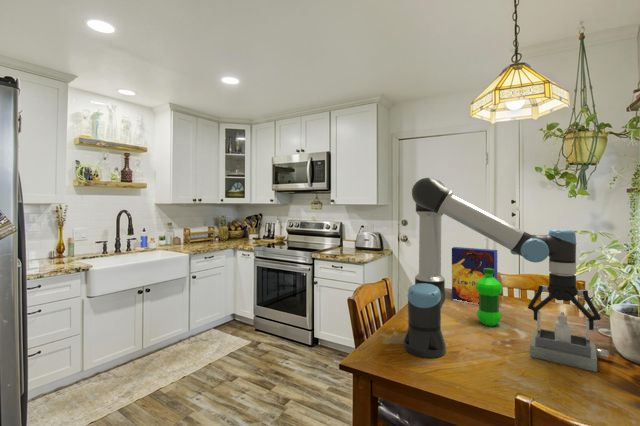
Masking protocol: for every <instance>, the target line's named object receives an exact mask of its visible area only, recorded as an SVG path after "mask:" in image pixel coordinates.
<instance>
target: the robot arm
mask: <svg viewBox="0 0 640 426" xmlns="http://www.w3.org/2000/svg"><path fill="white" fill-rule="evenodd" d="M411 197H412V200H413V201H414V202H415V213H416V214H417V215H418V216H419V222H418V223H419V228H418V229H419V230H418V233H419V235H418V239H419V240H418V245H419V246H418V247H419V248H418V273H417V274H416V275H415V276H414V284H412V285H410V287H408V291H407V314H408V315H407V317H408V318H407V320H408V321H407V322H408V324H407V325H408V326H407V327H408V328H407V330H406V333H405V336H404V338H403V348H404V350H405V351H406V352H408V353H409V354H411V355H414V356H416V357H420V358H427V359H428V358H432V359H433V358H439V357H443V356H444V355H445V354H446V353H447V345H446V341H445V339H444V335H443V332H442V329H441V327H442V326H441V324H442V323H441V322H442V321H441V320H442V319H441V317H442V316H441V313H442V307H443V305H444V304H445V301H446V299H447V291H446V285H445V282H446V281H445V277H443V276H442V217H443V215H445V216H447V217H448V218H450V219H453V220H454V221H456V222H458V223H460V224H462V225H464V226H465V227H468V228H469V229H471V230H473V231H474V232H476V233H479V235H482V236H484V237H486V238H488V239H489V240H492V241H493V242H495V243H496V244H498V245H500V246H502V247H504V248H507V249H508V250H509V251H510V253H511V255H517V256H521V257H523V259H524V260H526V261H529V262H531V263H540V262H543V261H545V260H546V259H547V258H548V271H549V272H550V273H549V274H548V280H549V281H548V286H546V285H543V284H539V285H538V289H537V292H536V293H535V295H534V296H533V298H532V299H531V301H530V302H529V304H528V305H527V309H528V310H531V311H533V320H534V321H537V325H536V327H537V332H538V331H540V329H542V328H541V323H542V322H541V321H542V319H541V318H542V317H541V309H543V308H544V307H545V306H546V305H547V304H548V303H550V302H551V301H552V300H554V299H555V300H556V301H564V302H571V303H572V304H574V306H576V307H577V308H578V310H580V312H581V313H582V314H583V315H584V316H585V317H586V318H585V337H586V340H589V338H590V331H594V329H595V326H594V324H595V323H594V322H595V321H601V319H602V317H601V315H600V313H599V311H598V310H597V308H596V306H595V305H594V304H593V302H592V300H591V298H590V296H589V293H588V292H589V291H588V289H578V288H577V276H576V275H575V274H577V238H576V232H575V231H574V230H572V229H563V228H562V229H559V228H558V229H557V228H556V229H549V231H548V234H530V233H529V232H526V231H524V230H522V229H521V228H518V227H516V226H514V225H512V224H511V223H509V222H507V221H505V220H504V219H501V218H499V217H497V216H495V215H493V214H492V213H489V212H487V211H485V210H483V209H481V208H479V207H477V206H476V205H474V204H471V203H470V202H468V201H466V200H464V199H462V198H460V197H458V196H456V195H454V193H453V190H450V189H449V188H447V187H446V186H445V185H444V183H442V182H441V181H440V180H437V179H435V178H434V177H433V178H432V177H424V178H421V179H419V180H417V181H415V183H414V185H413V186H412V189H411ZM546 291H548V293H549V295H547V296H546V297H545V298H544V299H543V300H542V301H541V302H540V303H538V304H537V305H536V306H535V304H536V302H537V301H538V300H539V298H540V296H541V295H542V293H543V292H546ZM578 294H579V295H580V297H582V298H583V299H584V300H585V302H586V304H587V306H588V307H589V309H590V311H591V312H589V310H588V309H587V308H585V307H584V305H583V304H582V303H581V302H580V301H579V300H578V298H576V296H577V295H578ZM591 313H592V314H593V315H592V314H591Z"/></svg>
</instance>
